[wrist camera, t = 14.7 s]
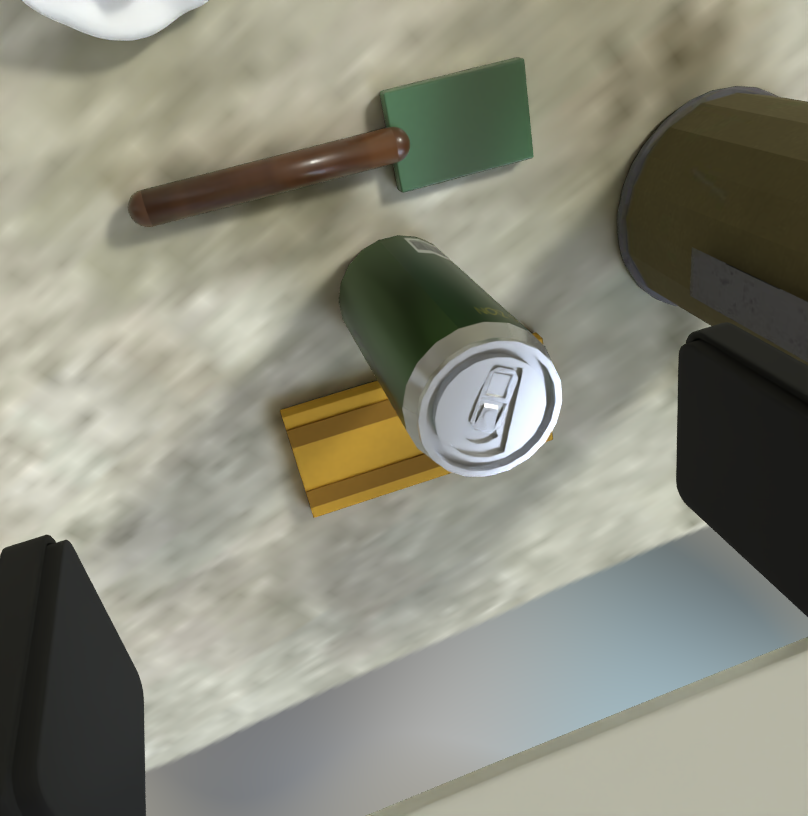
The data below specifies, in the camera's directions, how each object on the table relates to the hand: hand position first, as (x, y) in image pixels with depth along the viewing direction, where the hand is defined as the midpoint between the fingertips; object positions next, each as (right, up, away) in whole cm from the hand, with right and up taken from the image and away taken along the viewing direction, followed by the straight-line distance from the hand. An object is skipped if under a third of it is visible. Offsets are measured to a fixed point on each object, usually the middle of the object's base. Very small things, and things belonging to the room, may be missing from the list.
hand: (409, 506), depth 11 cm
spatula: (-3, +12, +20) cm, 23 cm away
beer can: (-1, +7, +24) cm, 25 cm away
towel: (+1, +1, +27) cm, 27 cm away
